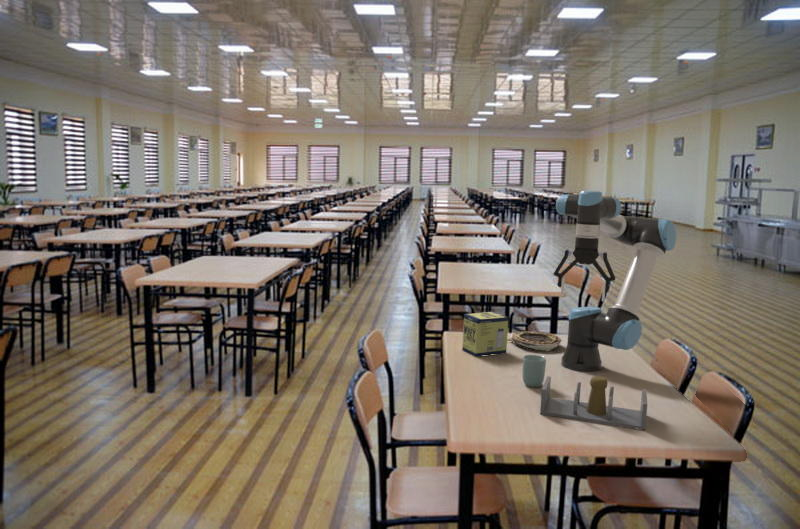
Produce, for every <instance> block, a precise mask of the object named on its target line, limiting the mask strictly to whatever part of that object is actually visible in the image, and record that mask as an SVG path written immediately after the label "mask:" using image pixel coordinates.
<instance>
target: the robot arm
mask: <svg viewBox="0 0 800 529" xmlns="http://www.w3.org/2000/svg"><path fill="white" fill-rule="evenodd" d="M555 210H556V212H557V213H558V214H559V215H561V216H565V217H566V216H569V217H572V218H574V219H577V220H576V226H575V228H576V229H575V235H576V237H575V243H574V250H570V249H568V248H567V249H565V250H564V255H563V257H562V258H561V260H560V262H559V263H558V265H557V267H556V269H555V270H554V271H553V276H555V277H557V278H558V284H557V286H558V288H560V298H564V294H565V282H566V281H565V280H566V279H565V278H566V277H564V276H565V275H566V274H567V273H568V272H569V271H570V270H571V269H572V268H573V267H574V266H576V265H577V263H578V264H580V265H587V266H589V265H593V266H594V268H595V269H596V270H597V272H598V273H599V275H600V276H601V277H602V278H603V279H604V280H603V282H602V295H601V302H605V297H606V296H605V295H606V292H609V289H610V282H615V280H616V275H615V272H614V270H613V269H612V267H611V265H610V261H609V259H608V253H607V252H606V251H604V252H599V238H598V237H599V236H600V231H602V232H603V233H604V234H605V236H607V237H608V238H611V239H612V240H615V241H617V242H618V243H622V244H624V245H627V246H630V247H631V246H632V247H633V249H634V250H635V253H634V255H633V258H632V259H631V263H630V265H629V267H628V270H627V273H626V276H625V277H624V280H623V284H622V285H621V288H620V291H619V293H618V296H617V299H616V301H615V303H614V305H613V306H609V308H608V309H607V312H606V313H603V311H602V308H601V307H597V306H581V307H580V306H579V307H574V308H572V309H570V312H569V317H568V328H567V329H568V331H567V332H568V333H567V345H566V348H565V350H564V353H563V355H562V357H561V362H560V364H561V365H562V366H563V367H564V368H567V369H570V370H573V371H580V372H596V371H600V370H601V369H602V365H603V364H602V363H603V362H602V359H601V354H600V350H599V345H603V346H607V347H611V348H614V349H616V350H625V351H628V350H630V349H633V348H634V347H635V346H637V344H638V342H639V341H640V339H641V336H642V330H643V326H642V323H641V322H640V320H641V318H640V316H639V315H638V314H639V310H640V308H641V305H642V302H643V300H644V297H645V294H646V293H647V289H648V287H649V284H650V281H651V280H652V276H653V274H654V271H655V268H656V267H657V263H658V261H659V259H663V258H664V257H665V254H666V252H670V251H672V250H673V249H674V248H675V246H676V243H677V230H676V226H675V225H674V222H673V221H672V220H670V219H663V218H653V217H642V216H641V217H639V216H627V215H625V216H624V215H621V214H620V213H621V211H622V204H621V201H620V200H619V199H618V198H617V197H613V196H603V193H602V191H600V190H598V191H595V190H582V191H579V194H570V193H569V194H561V195H559V196H558V197H557V199H556V203H555ZM571 255H572V256H573V257H574V260H573V261H572V262H571V263H570V264H569V265H568V266H567V267H566V268H565V269H564V270H562V272H560V271H561V269H562V268H563V266H564V264H565V262H566V261H567V260H568V258H569V257H571ZM598 257H600V259H601V260H603V263H604V265H605V267H606V270H607V272H608V274H609V276H608V274H606V272H605V271H604V270H603V268H602V267H601V265H600V264H599V262H598V261H597V259H598Z"/></svg>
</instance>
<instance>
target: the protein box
mask: <svg viewBox="0 0 800 529" xmlns="http://www.w3.org/2000/svg"><path fill="white" fill-rule="evenodd" d="M462 327H463V329H462V330H463V332H462V350H461V351H463V350H464V351H463V352H465V351H466V352H465V353H467V352H468V353H467V354H469V353H470V354H469V355H471V354H472V355H471V356H473V355H474V356H473V357H475V356H479V357H483V356H482V355H488V356H492V355H491V354H497V355H503V354H502V353H505V354H507V347H508V346H507V345H508V342H507V339H508V329H509V317H508V316H506V315H504V314H501V313H498V312H496V311H487V312H486V311H484V312H476V313H463V326H462Z"/></svg>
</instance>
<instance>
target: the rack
mask: <svg viewBox="0 0 800 529" xmlns="http://www.w3.org/2000/svg"><path fill="white" fill-rule="evenodd" d="M543 383H544V384H543V386H542V388H541V398H540V409H539V411H540V412H539V415H543V416H550V417H557V418H561V419H562V418H563V419H568V420H576V421H582V422H588V423H593V424H594V423H595V424H599V425H606V424H607V426H612V425H614V427H619V426H622V427H621V428H625V427H630V428H629V429H632V428H638V429H645V430H646V422H647V413H648V394H647V393H648V392H647V389H642V390H641V398H640V400H641V401H640V410H638V409H631V408H624V407H619V406H618V407H617V406H613V403H614V390H615V386H609V394H608V404H607V405H606V414H605V415H593V414H590V413H588V412H587V411H586V409H587V405H588V402H583V401H581V389H582V388H581V387H582V382H580V381H577V382H576V391H574V395H573V400H571V399H570V400H569V399H564V398H563V399H562V398H556V397H551V383H552V376H549V375H548V376H546V379H545V381H544V382H543ZM638 429H637V430H638Z"/></svg>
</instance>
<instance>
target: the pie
mask: <svg viewBox="0 0 800 529" xmlns="http://www.w3.org/2000/svg"><path fill="white" fill-rule="evenodd" d="M507 341H512V342H514V343H515V344H517V345H520V346H519V347H521V346H522V347H521V348H523V347H525V348H524V349H526V348H528V349H527V350H529V349H531V351H532V350H539V351H538V352H545V351H549V352H551V351H550V350H553V349H555V348H556V349H557V347H558V346H559V345H560V344H561V342H562V341H563V340H562V338H560V337H559V336H558V335H555V334H554V333H549V332H548V333H547V332H546V333H545V332H540V331H536V330H535V331H534V330H532V331H531V330H530V331H529V330H524V331H518V332H515V333H513V334H511V335H510V336H509V339H508V338H507ZM514 343H513V344H514ZM515 344H514V345H515ZM517 345H516V346H517ZM556 349H555V350H556ZM540 350H542V351H540ZM553 351H554V350H553Z"/></svg>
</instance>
